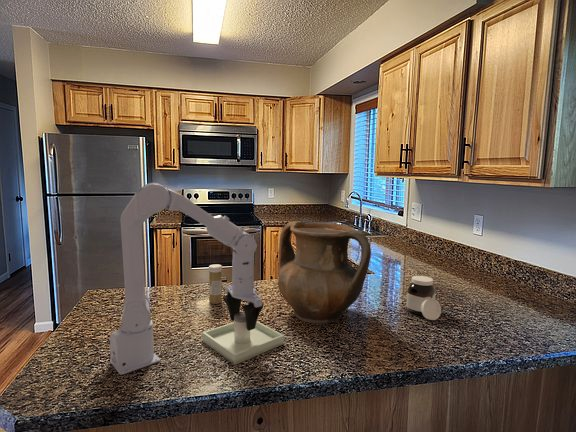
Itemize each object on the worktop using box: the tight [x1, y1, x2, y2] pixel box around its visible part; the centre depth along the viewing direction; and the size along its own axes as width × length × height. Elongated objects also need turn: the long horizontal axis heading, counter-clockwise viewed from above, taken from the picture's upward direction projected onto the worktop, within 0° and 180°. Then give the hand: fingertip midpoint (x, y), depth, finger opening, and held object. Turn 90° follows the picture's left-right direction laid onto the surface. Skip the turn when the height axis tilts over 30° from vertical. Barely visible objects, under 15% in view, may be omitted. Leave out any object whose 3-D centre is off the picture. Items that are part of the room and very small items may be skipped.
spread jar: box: [406, 275, 442, 321], centre depth 119 cm, size 12×11×12 cm
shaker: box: [233, 311, 250, 344], centre depth 97 cm, size 4×4×7 cm
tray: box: [201, 320, 285, 365], centre depth 98 cm, size 16×16×2 cm
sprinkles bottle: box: [208, 263, 223, 305], centre depth 127 cm, size 5×5×13 cm
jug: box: [277, 221, 372, 325], centre depth 117 cm, size 32×28×30 cm
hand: (242, 324), depth 97 cm, fingers open, 7 cm apart
